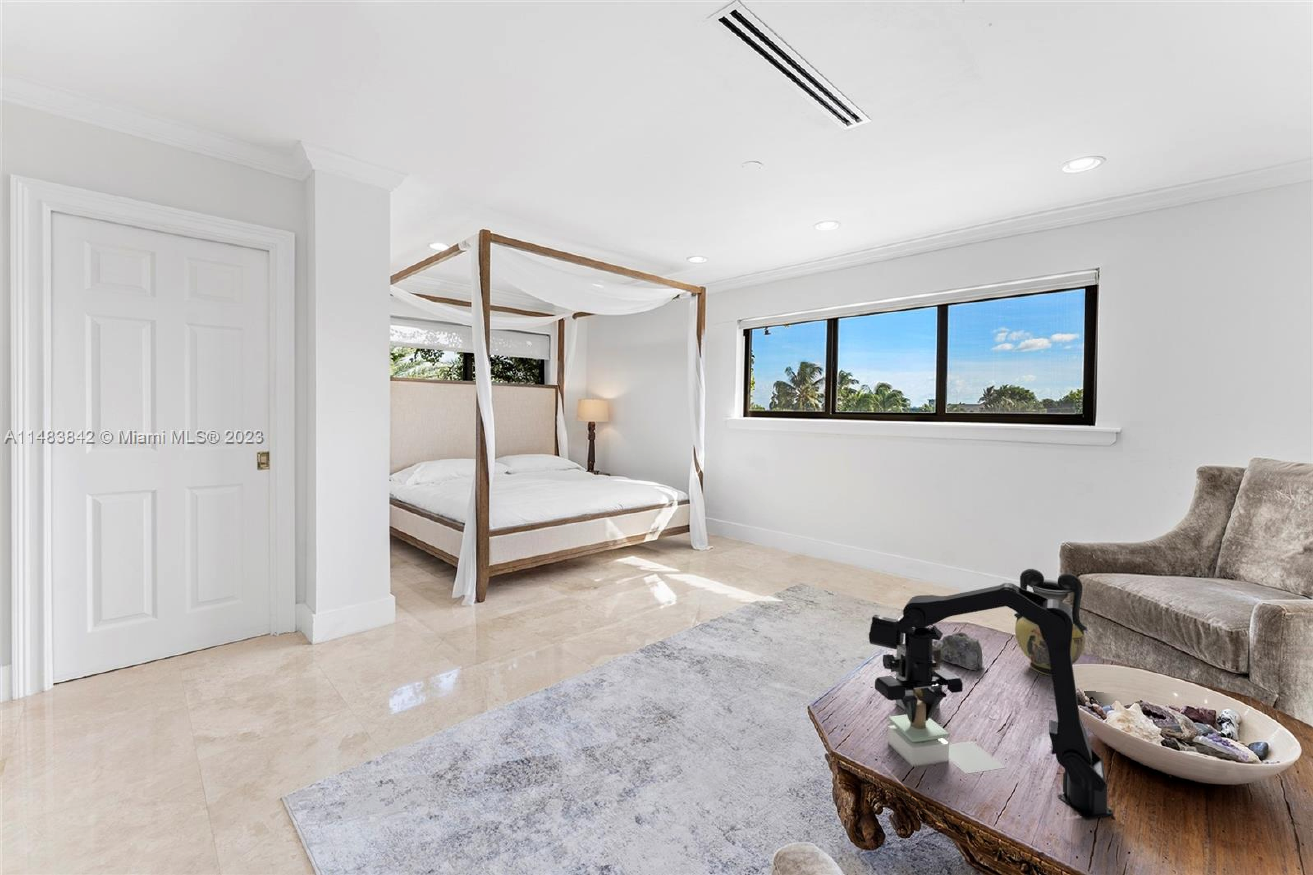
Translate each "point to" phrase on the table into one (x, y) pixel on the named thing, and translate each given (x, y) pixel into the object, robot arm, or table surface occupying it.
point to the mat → (972, 758)
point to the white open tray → (918, 748)
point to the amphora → (1030, 632)
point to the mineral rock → (961, 650)
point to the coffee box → (916, 692)
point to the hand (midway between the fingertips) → (918, 720)
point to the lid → (919, 725)
